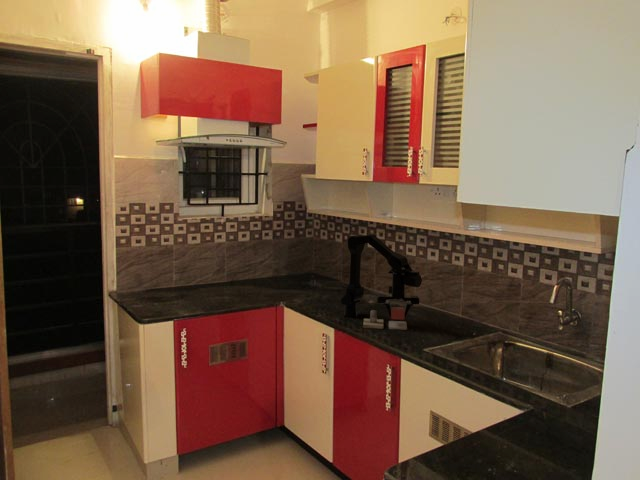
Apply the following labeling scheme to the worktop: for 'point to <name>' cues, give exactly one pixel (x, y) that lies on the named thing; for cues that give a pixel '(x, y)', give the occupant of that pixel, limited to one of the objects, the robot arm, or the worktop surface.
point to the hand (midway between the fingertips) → (397, 317)
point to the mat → (397, 325)
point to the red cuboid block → (398, 313)
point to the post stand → (373, 321)
